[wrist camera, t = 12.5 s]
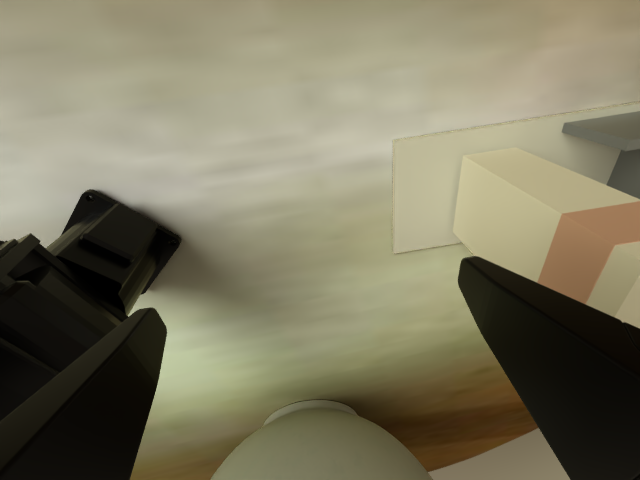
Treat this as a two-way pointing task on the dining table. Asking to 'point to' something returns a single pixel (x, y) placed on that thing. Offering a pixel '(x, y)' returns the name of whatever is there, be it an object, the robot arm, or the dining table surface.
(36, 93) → the dining table surface
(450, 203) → the box holder
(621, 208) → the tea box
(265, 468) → the decorative bowl
